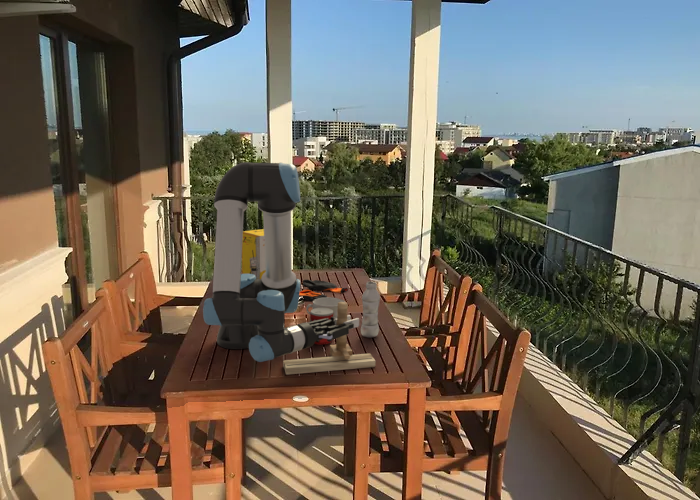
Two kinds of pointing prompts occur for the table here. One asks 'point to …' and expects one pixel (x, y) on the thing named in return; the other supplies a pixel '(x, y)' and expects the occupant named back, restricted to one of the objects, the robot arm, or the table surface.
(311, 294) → the pair of gloves
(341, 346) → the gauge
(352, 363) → the board
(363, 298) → the plastic bottle
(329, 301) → the teacup
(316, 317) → the canned food
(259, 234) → the packaging box
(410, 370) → the table surface
